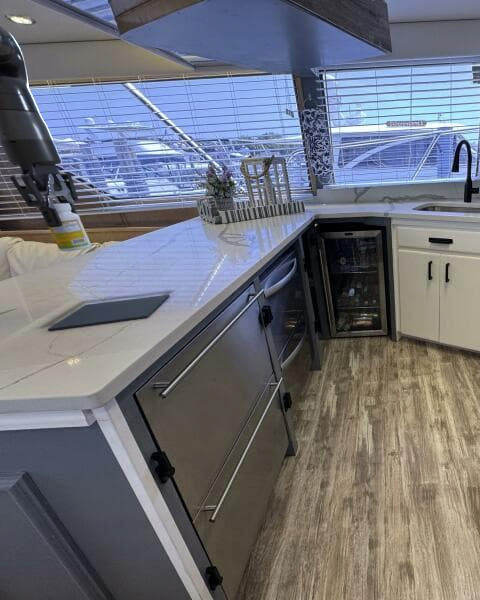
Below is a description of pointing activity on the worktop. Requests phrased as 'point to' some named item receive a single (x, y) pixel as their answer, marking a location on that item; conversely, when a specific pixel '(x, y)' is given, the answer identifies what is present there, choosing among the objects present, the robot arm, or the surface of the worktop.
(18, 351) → the worktop surface
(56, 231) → the supplement bottle
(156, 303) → the rubber mat
